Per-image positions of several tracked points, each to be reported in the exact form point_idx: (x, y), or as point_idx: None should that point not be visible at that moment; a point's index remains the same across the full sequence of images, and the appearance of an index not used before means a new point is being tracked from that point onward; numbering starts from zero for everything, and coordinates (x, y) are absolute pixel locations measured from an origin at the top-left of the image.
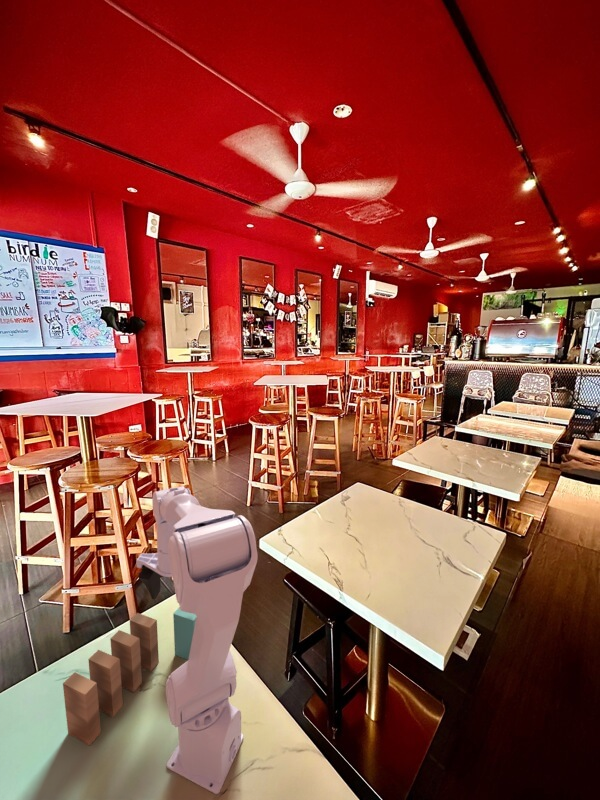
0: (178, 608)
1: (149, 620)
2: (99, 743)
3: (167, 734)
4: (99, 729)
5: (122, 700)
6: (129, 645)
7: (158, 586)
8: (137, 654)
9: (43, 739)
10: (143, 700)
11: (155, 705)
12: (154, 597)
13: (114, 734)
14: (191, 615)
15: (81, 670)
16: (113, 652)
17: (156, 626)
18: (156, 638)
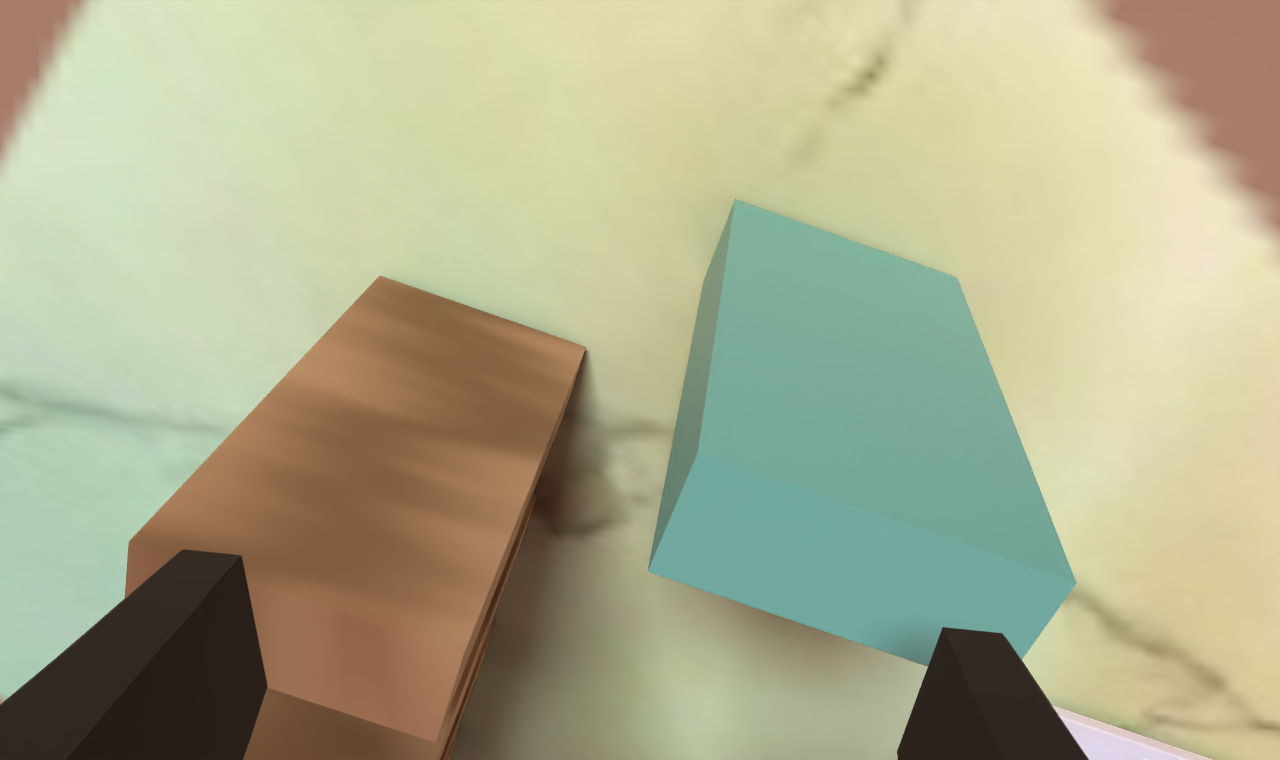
0: (690, 485)
1: (373, 660)
2: (486, 756)
3: (845, 750)
4: (450, 753)
5: (484, 650)
6: None
7: (159, 728)
8: (449, 728)
9: None
10: (610, 589)
11: (706, 619)
12: (246, 747)
13: (539, 729)
14: (946, 611)
15: (36, 393)
16: None
17: (486, 599)
18: (523, 507)
